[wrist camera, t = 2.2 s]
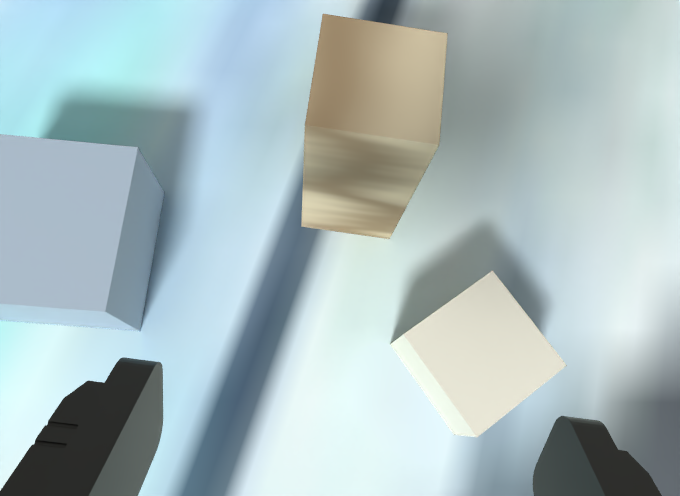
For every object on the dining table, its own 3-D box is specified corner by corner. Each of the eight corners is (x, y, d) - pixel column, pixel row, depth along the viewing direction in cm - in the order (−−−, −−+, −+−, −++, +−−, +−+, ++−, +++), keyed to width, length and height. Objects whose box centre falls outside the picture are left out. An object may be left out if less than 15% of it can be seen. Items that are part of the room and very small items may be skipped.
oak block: (397, 159, 29) (447, 33, 19) (389, 238, 28) (439, 145, 18) (313, 147, 29) (322, 13, 19) (301, 226, 27) (305, 124, 18)
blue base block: (165, 194, 27) (138, 147, 23) (141, 331, 25) (105, 311, 21) (23, 181, 27) (-35, 131, 22) (-14, 320, 25) (-86, 297, 20)
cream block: (532, 372, 26) (566, 365, 23) (452, 434, 25) (477, 437, 22) (468, 288, 27) (492, 270, 24) (389, 344, 26) (403, 334, 23)
